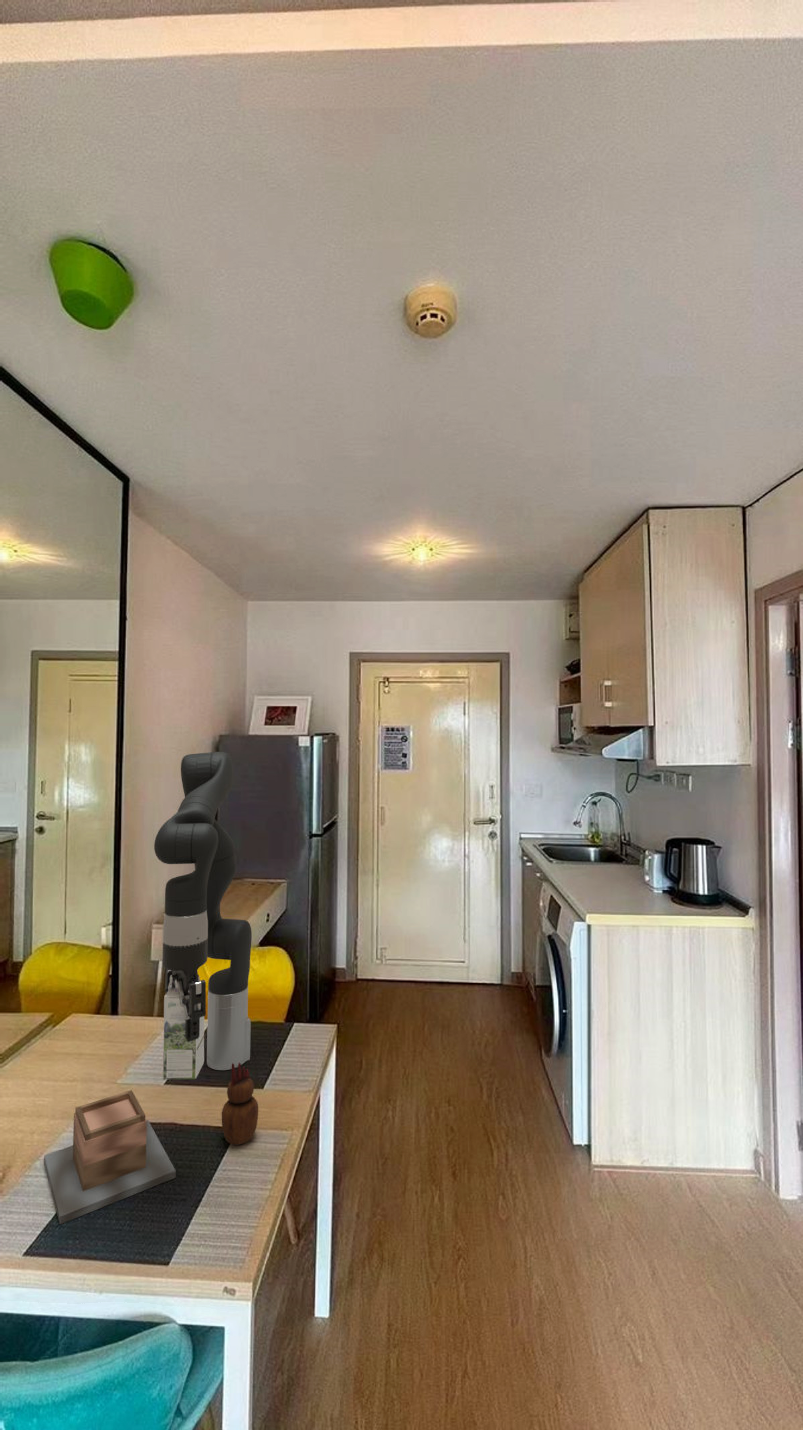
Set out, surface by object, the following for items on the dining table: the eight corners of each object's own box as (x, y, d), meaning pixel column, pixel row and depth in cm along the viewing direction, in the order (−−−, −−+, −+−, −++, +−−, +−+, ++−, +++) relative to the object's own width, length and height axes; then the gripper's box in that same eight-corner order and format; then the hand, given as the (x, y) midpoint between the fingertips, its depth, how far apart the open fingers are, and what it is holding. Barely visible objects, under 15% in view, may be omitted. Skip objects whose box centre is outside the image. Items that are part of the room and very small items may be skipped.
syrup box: (204, 1062, 113) (206, 981, 113) (195, 1081, 107) (196, 995, 107) (172, 1063, 113) (174, 982, 113) (161, 1081, 107) (163, 996, 107)
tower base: (147, 1126, 124) (148, 1073, 124) (175, 1177, 110) (176, 1118, 110) (44, 1162, 113) (45, 1104, 114) (59, 1224, 99) (61, 1158, 99)
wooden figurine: (224, 1153, 116) (226, 1071, 117) (218, 1136, 121) (220, 1057, 122) (261, 1143, 119) (262, 1063, 120) (253, 1126, 124) (254, 1049, 125)
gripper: (221, 943, 107) (220, 1039, 107) (192, 923, 118) (191, 1010, 118) (177, 953, 103) (175, 1053, 102) (151, 930, 114) (149, 1021, 113)
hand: (183, 1030), depth 110 cm, fingers closed on syrup box, 8 cm apart
